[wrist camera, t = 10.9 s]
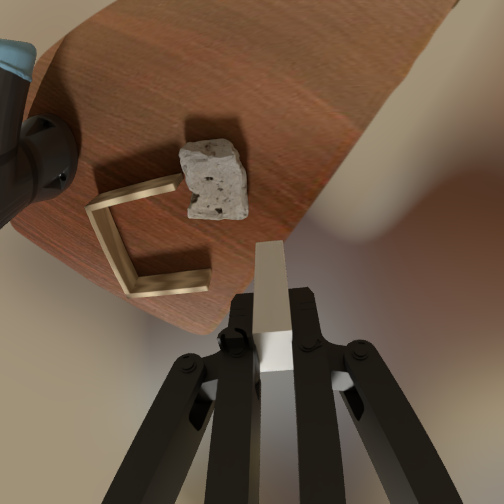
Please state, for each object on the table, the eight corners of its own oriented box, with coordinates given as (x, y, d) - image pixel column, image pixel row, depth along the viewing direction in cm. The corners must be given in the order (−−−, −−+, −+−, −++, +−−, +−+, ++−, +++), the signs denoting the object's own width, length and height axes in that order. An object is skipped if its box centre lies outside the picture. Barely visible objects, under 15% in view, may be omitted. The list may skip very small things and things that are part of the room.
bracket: (136, 281, 54) (127, 298, 50) (98, 194, 44) (84, 206, 40) (212, 272, 52) (207, 290, 48) (181, 172, 42) (172, 183, 38)
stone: (198, 224, 46) (258, 209, 45) (191, 239, 41) (258, 222, 40) (171, 147, 41) (235, 127, 39) (160, 152, 35) (232, 128, 34)
